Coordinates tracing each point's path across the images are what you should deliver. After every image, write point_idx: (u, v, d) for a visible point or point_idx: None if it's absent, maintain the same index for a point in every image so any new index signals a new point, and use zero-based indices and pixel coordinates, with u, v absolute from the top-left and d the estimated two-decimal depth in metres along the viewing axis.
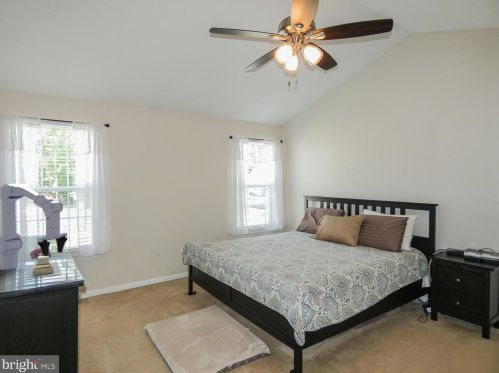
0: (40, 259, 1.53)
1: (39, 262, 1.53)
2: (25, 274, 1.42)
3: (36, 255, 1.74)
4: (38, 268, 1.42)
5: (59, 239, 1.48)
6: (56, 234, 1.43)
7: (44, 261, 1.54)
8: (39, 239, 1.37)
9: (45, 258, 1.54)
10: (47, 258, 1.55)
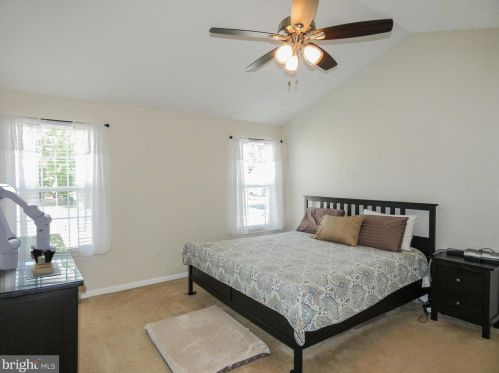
0: (40, 259, 1.53)
1: (39, 262, 1.53)
2: (25, 274, 1.42)
3: None
4: (38, 268, 1.42)
5: None
6: (37, 246, 1.53)
7: (44, 261, 1.54)
8: None
9: None
10: None
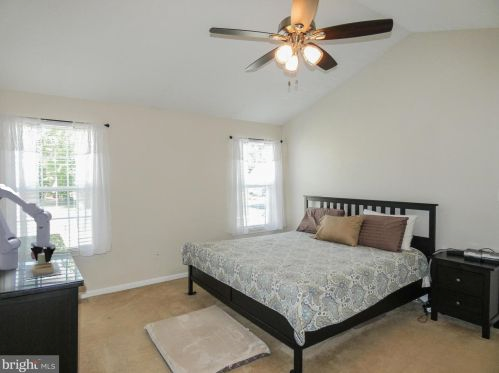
0: (40, 256, 1.53)
1: (39, 259, 1.53)
2: (25, 274, 1.42)
3: None
4: (38, 268, 1.42)
5: None
6: (37, 243, 1.53)
7: (44, 258, 1.54)
8: None
9: None
10: None
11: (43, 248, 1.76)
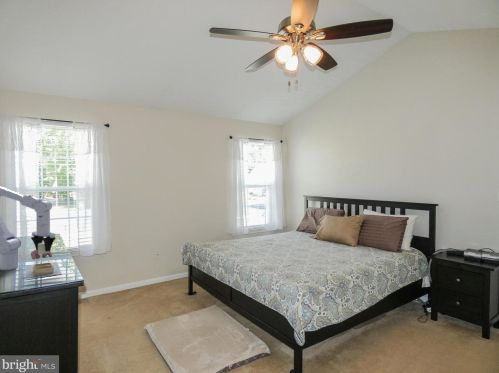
0: (40, 245, 1.52)
1: (39, 248, 1.52)
2: (25, 274, 1.42)
3: (37, 255, 1.73)
4: (38, 268, 1.42)
5: None
6: (37, 232, 1.52)
7: (44, 247, 1.53)
8: None
9: None
10: None
11: None
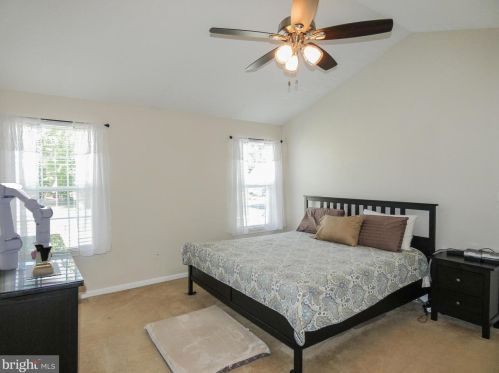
0: (38, 254, 1.44)
1: (37, 257, 1.44)
2: (25, 274, 1.42)
3: None
4: (38, 268, 1.42)
5: None
6: (36, 240, 1.45)
7: None
8: None
9: None
10: None
11: None
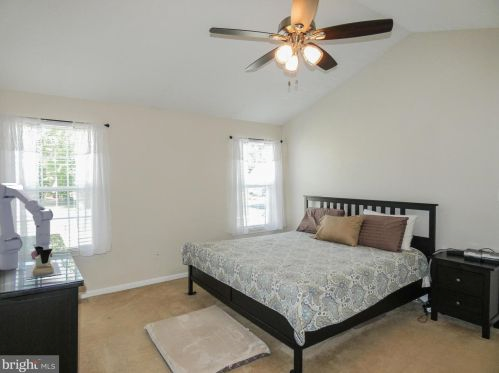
0: (37, 259, 1.43)
1: (36, 262, 1.44)
2: (25, 274, 1.42)
3: (37, 255, 1.73)
4: (38, 268, 1.42)
5: None
6: (36, 242, 1.45)
7: None
8: None
9: None
10: None
11: None
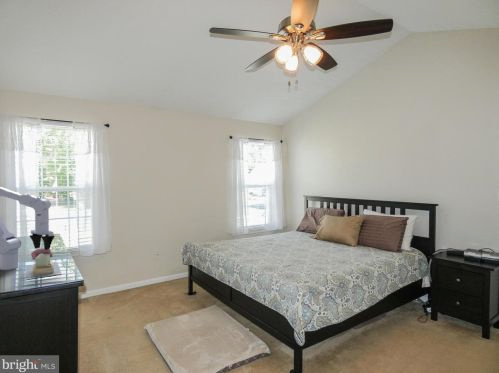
0: (37, 259, 1.43)
1: (36, 262, 1.43)
2: (25, 274, 1.42)
3: (37, 255, 1.73)
4: (38, 268, 1.42)
5: None
6: (35, 230, 1.52)
7: (41, 262, 1.44)
8: None
9: (42, 259, 1.44)
10: (44, 259, 1.44)
11: None
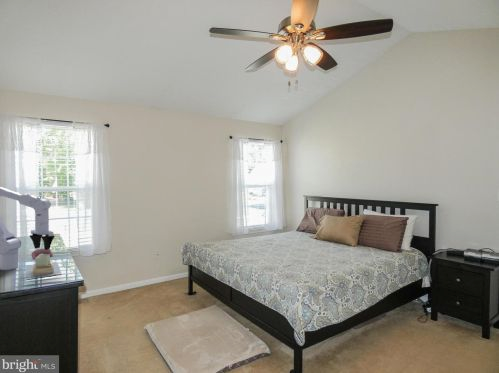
0: (37, 259, 1.43)
1: (36, 262, 1.43)
2: (25, 274, 1.42)
3: (37, 255, 1.73)
4: (38, 268, 1.42)
5: None
6: (35, 230, 1.52)
7: (41, 262, 1.44)
8: None
9: (42, 259, 1.44)
10: (44, 259, 1.44)
11: None
